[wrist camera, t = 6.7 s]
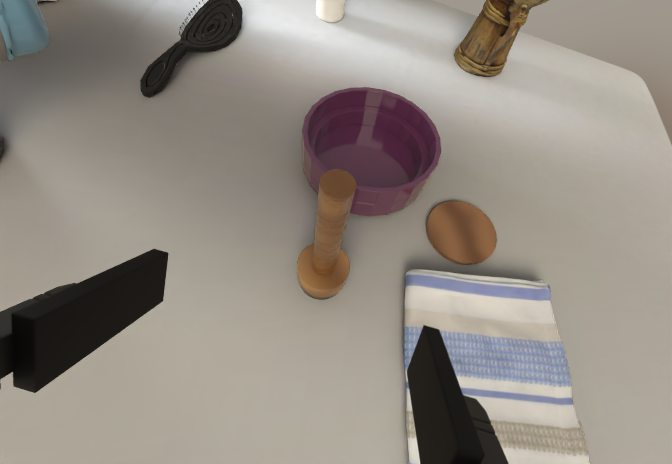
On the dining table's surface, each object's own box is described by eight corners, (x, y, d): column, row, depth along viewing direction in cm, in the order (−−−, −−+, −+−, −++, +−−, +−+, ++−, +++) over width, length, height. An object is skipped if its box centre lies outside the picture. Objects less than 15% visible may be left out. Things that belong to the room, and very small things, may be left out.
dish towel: (540, 286, 39) (557, 278, 37) (600, 547, 28) (629, 561, 25) (400, 269, 38) (407, 259, 36) (403, 530, 27) (413, 543, 25)
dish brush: (308, 309, 35) (315, 230, 19) (290, 265, 37) (284, 163, 21) (352, 290, 36) (393, 203, 21) (333, 250, 39) (357, 143, 23)
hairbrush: (111, 70, 45) (207, -19, 56) (124, 92, 48) (213, 4, 59) (163, 90, 44) (251, -4, 55) (173, 110, 47) (254, 18, 58)
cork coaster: (450, 275, 39) (453, 273, 38) (413, 215, 42) (414, 212, 42) (508, 250, 41) (511, 248, 40) (468, 195, 45) (470, 192, 44)
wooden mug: (457, 89, 55) (520, -37, 39) (452, 42, 61) (506, -82, 46) (507, 98, 55) (591, -24, 40) (498, 50, 62) (566, -71, 46)
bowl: (332, 236, 39) (338, 210, 34) (284, 136, 46) (282, 102, 41) (447, 196, 44) (467, 168, 39) (388, 111, 51) (398, 77, 46)
